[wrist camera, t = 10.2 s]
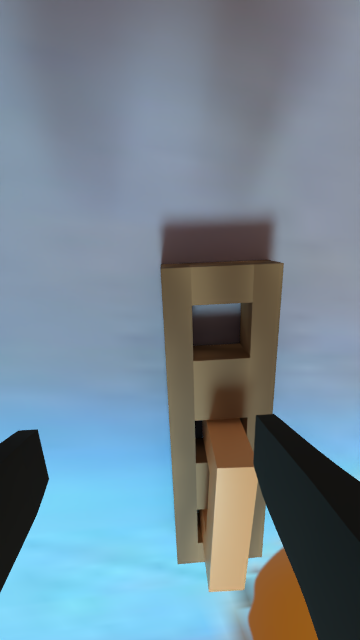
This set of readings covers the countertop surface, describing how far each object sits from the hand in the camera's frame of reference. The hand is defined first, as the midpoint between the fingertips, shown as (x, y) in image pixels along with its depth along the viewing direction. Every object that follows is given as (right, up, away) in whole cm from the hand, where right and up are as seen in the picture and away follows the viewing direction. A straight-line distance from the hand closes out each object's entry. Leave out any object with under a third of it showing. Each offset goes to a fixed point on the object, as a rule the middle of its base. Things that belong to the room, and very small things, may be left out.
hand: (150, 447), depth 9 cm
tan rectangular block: (+4, -7, +13) cm, 16 cm away
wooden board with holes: (+4, -3, +12) cm, 13 cm away
